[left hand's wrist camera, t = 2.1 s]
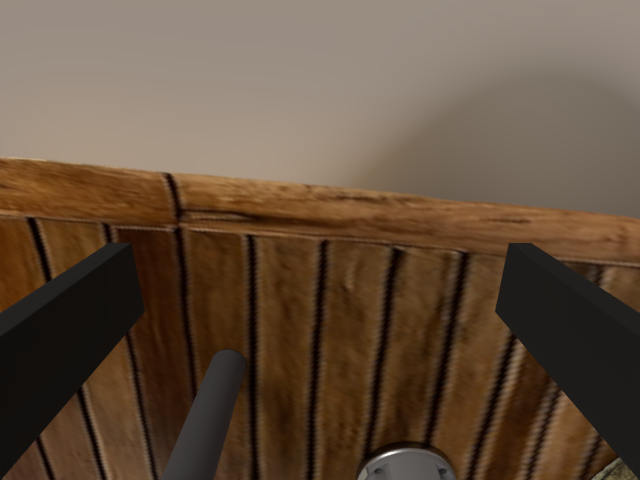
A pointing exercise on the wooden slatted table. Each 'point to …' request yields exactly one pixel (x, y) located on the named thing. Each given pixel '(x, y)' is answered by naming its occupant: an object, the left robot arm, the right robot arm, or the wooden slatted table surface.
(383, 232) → the wooden slatted table surface
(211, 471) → the dark grey cylinder
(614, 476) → the fossil
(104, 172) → the wooden slatted table surface
